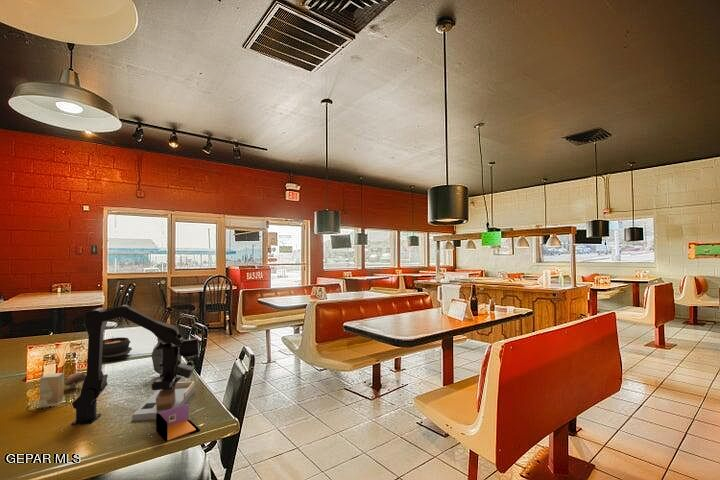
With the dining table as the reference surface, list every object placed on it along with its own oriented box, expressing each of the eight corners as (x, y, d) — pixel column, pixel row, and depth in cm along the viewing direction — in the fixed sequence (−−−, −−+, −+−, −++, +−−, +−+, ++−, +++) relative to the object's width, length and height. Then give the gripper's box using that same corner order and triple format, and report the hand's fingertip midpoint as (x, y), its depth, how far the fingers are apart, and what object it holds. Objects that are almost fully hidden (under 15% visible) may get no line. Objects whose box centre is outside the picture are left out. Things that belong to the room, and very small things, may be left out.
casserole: (89, 354, 205) (89, 339, 206) (126, 347, 219) (126, 334, 219) (98, 363, 188) (98, 348, 188) (137, 355, 202) (137, 341, 202)
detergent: (180, 368, 178) (180, 320, 179) (182, 372, 172) (182, 322, 173) (151, 374, 171) (151, 323, 171) (151, 378, 165) (152, 326, 166)
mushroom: (60, 389, 153) (60, 375, 153) (81, 383, 160) (81, 369, 160) (68, 393, 149) (68, 378, 149) (90, 386, 156) (90, 372, 157)
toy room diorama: (151, 433, 116) (151, 413, 117) (188, 420, 125) (188, 401, 125) (162, 447, 108) (162, 425, 108) (201, 432, 116) (201, 412, 117)
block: (171, 409, 128) (170, 396, 127) (156, 410, 127) (155, 398, 126) (175, 400, 133) (174, 388, 132) (161, 402, 132) (160, 390, 131)
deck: (173, 418, 126) (173, 406, 126) (132, 421, 124) (132, 409, 124) (194, 391, 150) (194, 381, 150) (159, 393, 148) (159, 383, 148)
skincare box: (38, 409, 134) (38, 377, 135) (45, 404, 139) (45, 373, 139) (58, 407, 136) (58, 375, 136) (64, 402, 140) (64, 372, 141)
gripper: (183, 365, 126) (183, 408, 126) (199, 350, 145) (199, 387, 145) (150, 367, 125) (150, 410, 124) (171, 352, 143) (171, 389, 143)
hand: (170, 398), depth 134 cm, fingers closed
